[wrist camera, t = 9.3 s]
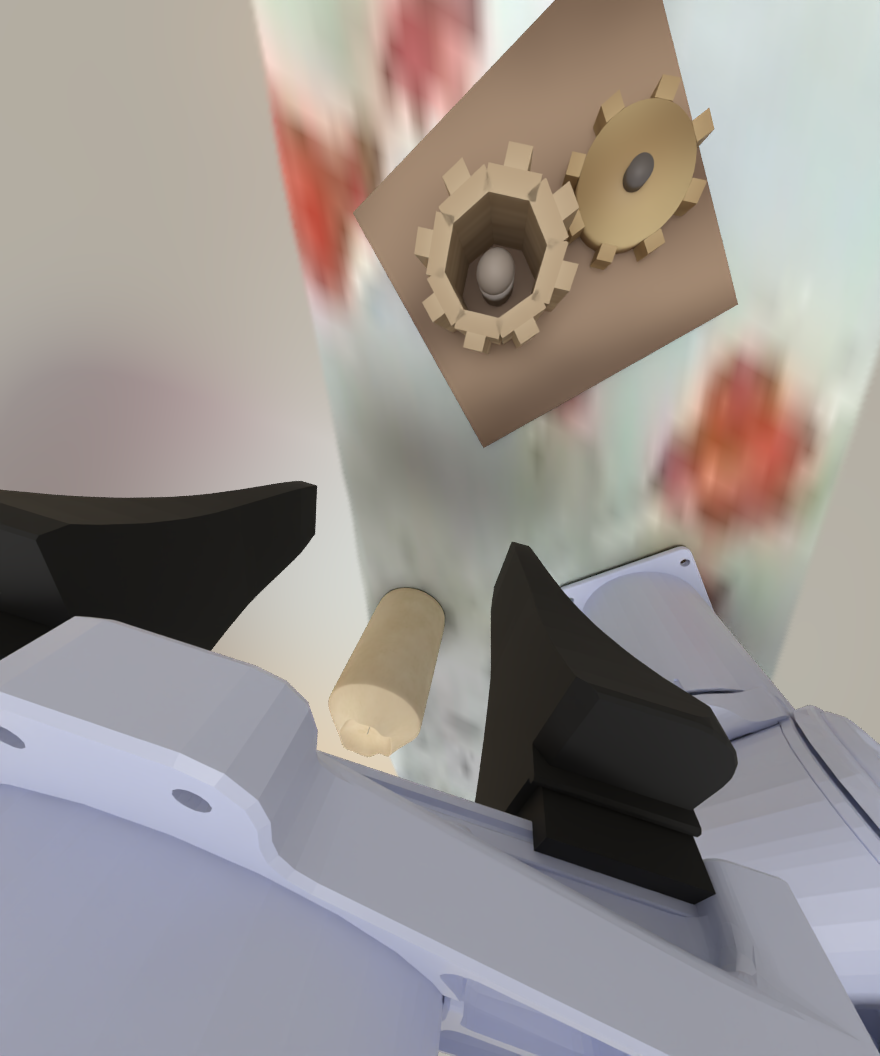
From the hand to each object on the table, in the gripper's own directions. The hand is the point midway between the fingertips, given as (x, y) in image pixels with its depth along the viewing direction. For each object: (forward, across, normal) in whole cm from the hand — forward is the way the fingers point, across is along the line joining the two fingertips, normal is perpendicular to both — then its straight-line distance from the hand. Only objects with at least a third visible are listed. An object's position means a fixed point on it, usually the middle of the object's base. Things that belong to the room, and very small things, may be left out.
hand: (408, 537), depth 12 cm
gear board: (+9, -2, -10) cm, 14 cm away
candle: (+10, 0, +13) cm, 16 cm away
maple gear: (+8, 0, -9) cm, 12 cm away
